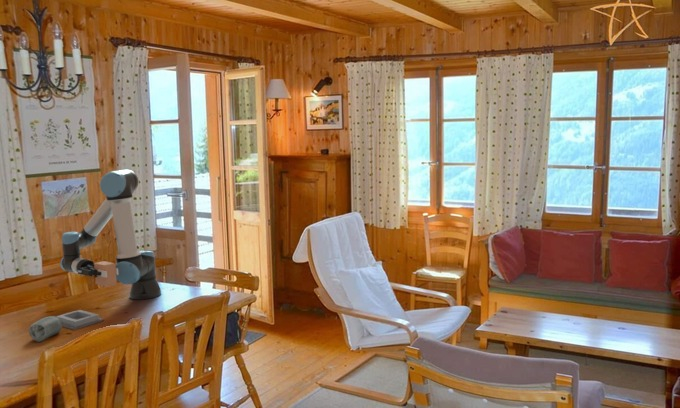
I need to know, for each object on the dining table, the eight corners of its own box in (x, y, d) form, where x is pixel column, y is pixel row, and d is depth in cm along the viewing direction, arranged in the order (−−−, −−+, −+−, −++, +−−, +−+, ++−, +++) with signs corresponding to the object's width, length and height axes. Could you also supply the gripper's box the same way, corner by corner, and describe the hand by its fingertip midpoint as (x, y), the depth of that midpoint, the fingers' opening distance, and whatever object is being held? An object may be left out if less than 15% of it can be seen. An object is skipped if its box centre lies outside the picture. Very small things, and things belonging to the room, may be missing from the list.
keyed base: (81, 314, 271) (81, 308, 270) (103, 320, 261) (102, 314, 261) (52, 323, 260) (51, 316, 259) (73, 330, 250) (73, 323, 249)
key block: (105, 281, 276) (104, 261, 275) (116, 284, 271) (115, 263, 269) (95, 284, 272) (94, 263, 271) (106, 287, 267) (105, 265, 265)
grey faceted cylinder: (43, 337, 232) (36, 313, 235) (26, 346, 235) (20, 323, 238) (70, 334, 245) (64, 311, 247) (54, 342, 248) (48, 320, 250)
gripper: (101, 270, 289) (129, 276, 275) (66, 278, 274) (94, 285, 261) (100, 255, 288) (128, 261, 274) (64, 262, 273) (93, 269, 260)
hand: (111, 273), depth 267 cm, fingers closed on key block, 5 cm apart
